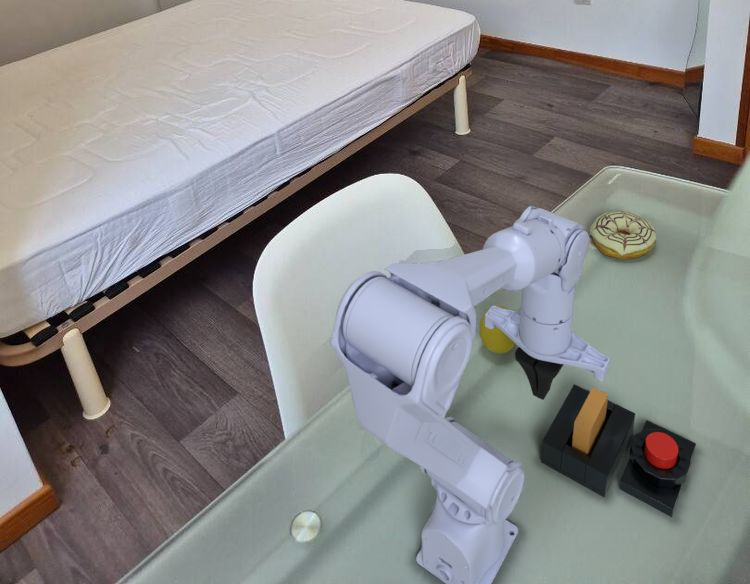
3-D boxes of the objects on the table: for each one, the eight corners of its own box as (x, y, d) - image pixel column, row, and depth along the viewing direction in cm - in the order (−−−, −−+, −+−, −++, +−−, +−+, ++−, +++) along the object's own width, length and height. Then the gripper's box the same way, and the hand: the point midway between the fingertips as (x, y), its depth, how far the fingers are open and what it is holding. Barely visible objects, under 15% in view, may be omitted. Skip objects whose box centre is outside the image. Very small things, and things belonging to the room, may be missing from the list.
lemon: (517, 367, 98) (518, 325, 95) (478, 362, 99) (478, 321, 96) (517, 337, 103) (519, 297, 100) (480, 333, 104) (480, 293, 101)
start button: (671, 474, 80) (673, 465, 79) (640, 458, 82) (641, 449, 81) (680, 451, 82) (682, 441, 82) (649, 436, 84) (651, 426, 84)
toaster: (604, 498, 81) (607, 476, 79) (540, 462, 85) (542, 441, 83) (632, 434, 88) (635, 413, 86) (572, 404, 92) (574, 383, 90)
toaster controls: (673, 519, 78) (677, 502, 77) (616, 487, 82) (619, 471, 80) (696, 451, 85) (700, 435, 84) (643, 425, 89) (645, 409, 87)
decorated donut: (577, 239, 122) (578, 222, 121) (618, 217, 127) (620, 200, 125) (624, 271, 114) (627, 253, 112) (667, 246, 119) (669, 229, 117)
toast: (586, 466, 83) (590, 430, 81) (570, 458, 84) (574, 422, 82) (604, 430, 88) (608, 394, 85) (588, 422, 89) (592, 387, 86)
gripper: (624, 310, 75) (613, 397, 81) (505, 262, 84) (502, 344, 89) (600, 352, 70) (590, 441, 76) (476, 296, 79) (475, 381, 85)
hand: (541, 391), depth 83 cm, fingers closed
